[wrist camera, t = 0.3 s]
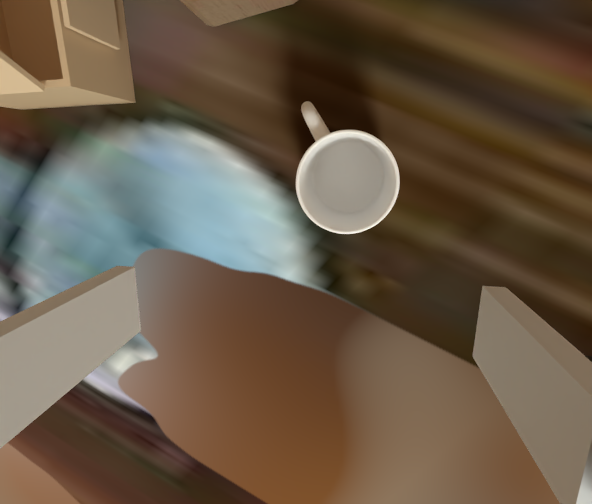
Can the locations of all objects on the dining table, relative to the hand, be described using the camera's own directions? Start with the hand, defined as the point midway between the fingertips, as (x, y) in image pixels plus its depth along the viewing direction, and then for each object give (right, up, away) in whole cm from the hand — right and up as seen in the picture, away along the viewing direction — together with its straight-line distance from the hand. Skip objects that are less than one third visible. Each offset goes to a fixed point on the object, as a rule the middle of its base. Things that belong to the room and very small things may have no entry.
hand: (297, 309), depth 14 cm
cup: (+5, +12, +26) cm, 29 cm away
